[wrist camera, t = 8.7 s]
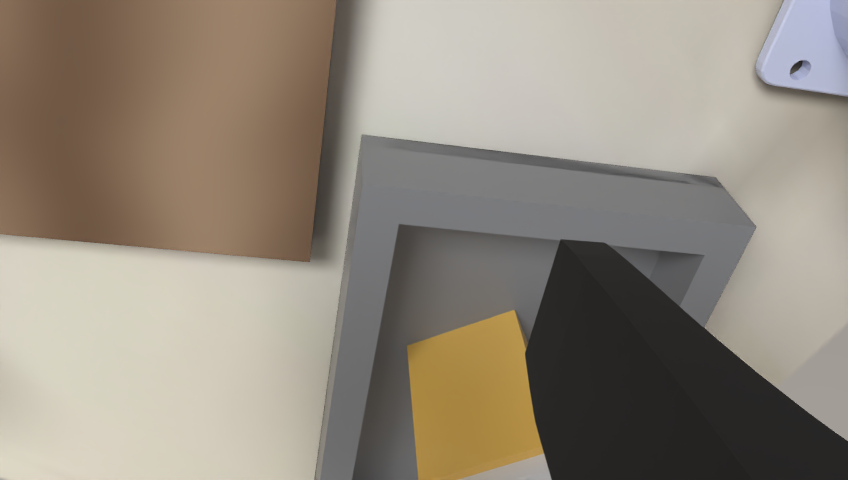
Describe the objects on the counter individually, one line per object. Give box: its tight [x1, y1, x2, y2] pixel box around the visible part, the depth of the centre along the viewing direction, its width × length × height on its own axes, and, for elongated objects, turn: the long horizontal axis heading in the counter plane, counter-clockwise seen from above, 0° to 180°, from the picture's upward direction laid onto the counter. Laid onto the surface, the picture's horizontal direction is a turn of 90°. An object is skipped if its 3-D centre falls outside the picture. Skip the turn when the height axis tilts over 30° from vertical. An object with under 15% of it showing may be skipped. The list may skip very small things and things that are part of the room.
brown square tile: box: [0, 0, 337, 262], centre depth 16 cm, size 10×10×1 cm
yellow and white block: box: [407, 310, 552, 480], centre depth 21 cm, size 4×5×6 cm
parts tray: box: [314, 135, 756, 480], centre depth 23 cm, size 10×16×2 cm, turn 170°
